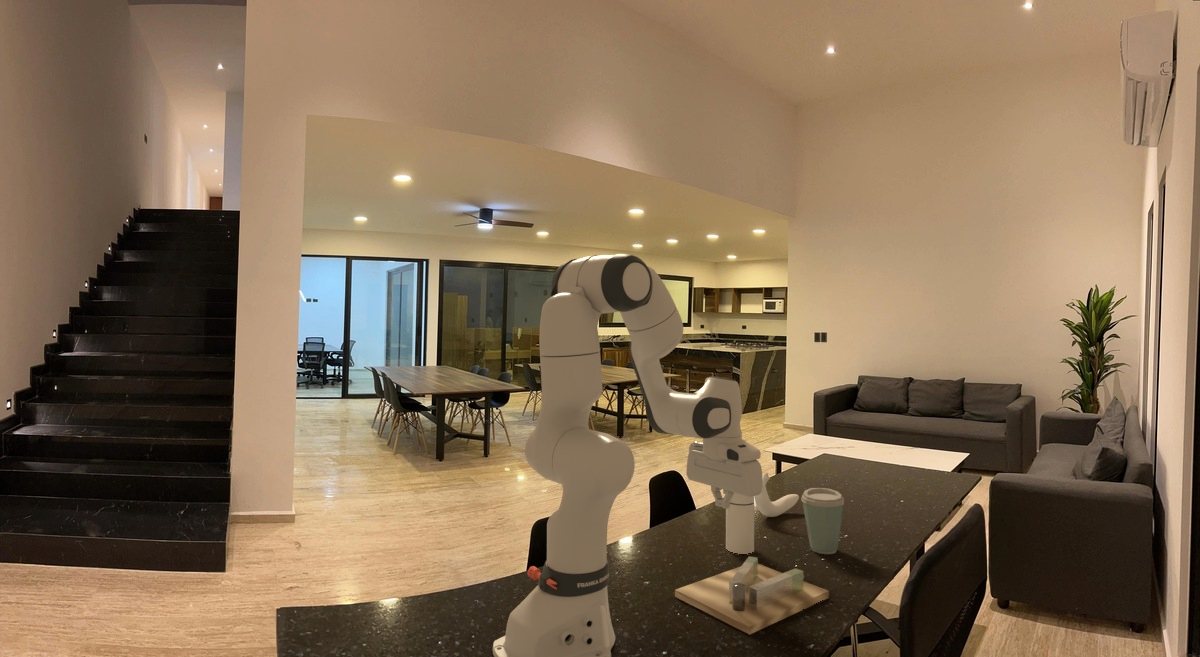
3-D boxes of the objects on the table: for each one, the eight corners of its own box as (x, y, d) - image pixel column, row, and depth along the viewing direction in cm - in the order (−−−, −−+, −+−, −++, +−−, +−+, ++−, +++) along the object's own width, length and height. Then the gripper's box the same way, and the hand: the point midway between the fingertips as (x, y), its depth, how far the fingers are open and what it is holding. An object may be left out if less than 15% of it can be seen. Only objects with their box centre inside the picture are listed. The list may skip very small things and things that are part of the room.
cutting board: (749, 634, 114) (749, 626, 114) (674, 596, 130) (674, 589, 130) (828, 597, 129) (828, 590, 129) (753, 568, 145) (753, 561, 145)
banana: (799, 512, 190) (800, 465, 190) (764, 524, 178) (764, 474, 178) (786, 508, 194) (786, 462, 194) (750, 520, 181) (750, 471, 181)
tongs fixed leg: (756, 610, 120) (756, 589, 120) (748, 606, 122) (748, 586, 122) (803, 590, 130) (803, 571, 130) (795, 586, 131) (795, 568, 131)
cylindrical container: (734, 555, 153) (734, 457, 153) (721, 546, 160) (721, 451, 160) (759, 553, 155) (759, 455, 155) (745, 543, 162) (745, 450, 162)
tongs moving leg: (743, 612, 119) (743, 588, 119) (724, 608, 121) (724, 585, 121) (765, 577, 136) (765, 556, 136) (748, 573, 138) (748, 553, 138)
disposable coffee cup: (848, 559, 151) (848, 499, 151) (803, 555, 153) (803, 496, 153) (840, 544, 162) (840, 488, 162) (798, 541, 164) (798, 486, 164)
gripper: (680, 441, 146) (680, 499, 146) (748, 456, 129) (748, 521, 130) (698, 438, 150) (699, 494, 150) (766, 452, 133) (767, 515, 133)
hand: (722, 507), depth 139 cm, fingers closed
